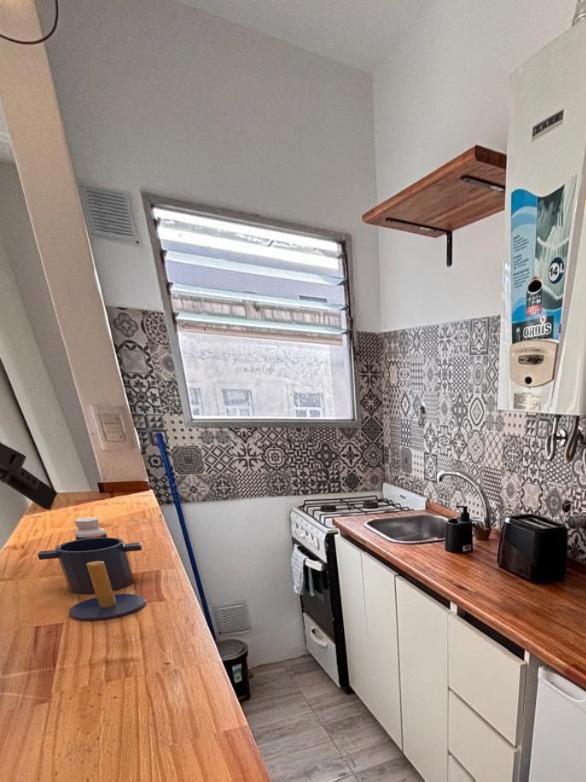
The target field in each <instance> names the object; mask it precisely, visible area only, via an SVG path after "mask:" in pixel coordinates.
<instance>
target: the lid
mask: <svg viewBox="0 0 586 782" xmlns="http://www.w3.org/2000/svg"><path fill="white" fill-rule="evenodd" d="M86 565H87V568H88V571H89V574H90V578H91V581H92V584H93V587H94V590H95V593H96V594H95V597H92V598H89V599H85V600H83V601H80V602H78V603H75V604H74V605H73V606H71V607H70V608H69V609H68V615H69V617H70V618H71V619H74V620H77V621H84V622H92V621H93V622H95V621H106V620H112V619H118V618H121V617H125V616H128V615H131V614H134V613H136V612H138V611H140V610H142V609H143V608H144V607H145V606H146V604H147V600H146V598H145V597H144V596H142V595H140V594H135V593H134V594H133V593H115V594H114V591H112V587H111V584H110V581H109V577H108V574H107V571H106V567H105V564H104V562H103V561H94V562H89V563H87V564H86Z"/></svg>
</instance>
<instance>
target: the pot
mask: <svg viewBox="0 0 586 782" xmlns="http://www.w3.org/2000/svg"><path fill="white" fill-rule="evenodd" d="M142 550H143V545H142V542H140V541H139V542H131V543H125V540H123V539H121V538H117V537H110V536H109V537H108V536H107V537H100V538H87V539H80V540H76V539H74V540H71V541H67V542H63V543H61V544H58V545H57V546H56V547H55V549H50V550H48V549H47V550H40V551H39V552H38V553H37V557H38V560H39V561H42V560H44V561H45V560H52V559H53V560H54V559H58V561H59V564H60V567H61V570H62V573H63V576H64V579H65V582H66V584H67V588H68V590H69V591H70V592H71V594H77V595H96V593H95V590H94V587H93V584H92V581H91V578H90V574H89V571H88V568H87V565H86V564H87V563H89V562H94V561H103V562H104V564H105V567H106V571H107V574H108V577H109V581H110V584H111V587H112V591H113V592H115V591H119V590H122V589H125V588H128V587H130V586H131V585H133V584H134V583H135V577H134V573H133V570H132V567H131V564H130V560H129V556H128V553H129V552H139V551H142Z"/></svg>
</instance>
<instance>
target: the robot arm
mask: <svg viewBox="0 0 586 782" xmlns="http://www.w3.org/2000/svg"><path fill="white" fill-rule="evenodd" d="M26 459H27V456H26V455H25V454H23V453H21V452H19V451H18V450H16V449H13V448H12V447H9V446H8V445H6V444H4V443H2V442H0V482H1V483H3V484H6V485H8V487H11V488H12V489H13V490H15V491H16V492H18V493H20V494H21V495H23V496H24V497H26V498H27V499H29V500H30V501H32V502H33V503H35V504H36V505H37V506H39V507H40V508H42V509H43V510H49V511H50V510H51V508H52V506H53V503H54V501H55V500H56V497H57V494H58V492H57V491H56V490H55V489H53V488H52V487H50V485H48V484H46V483H45V482H44V481H42V480H41V479H39V478H38V477H37V476H35V475H34V474H33V473H31V472H29V471H28V470H27V469H26V468H24V467H23V466H24V464H25V462H26Z"/></svg>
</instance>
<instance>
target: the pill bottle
mask: <svg viewBox="0 0 586 782" xmlns="http://www.w3.org/2000/svg"><path fill="white" fill-rule="evenodd" d="M74 523H75V527H76V528H78V529H76V530H75V531H74V537H75V540H80V539H87V538H100V537H108V535H107V532H106V530H105V529H104V528H103V527H100V526H101V525H100V521H99V518H98V517H94V516H90V517H89V516H86V517H80V518H79V517H78V518H76V519H74Z"/></svg>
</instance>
